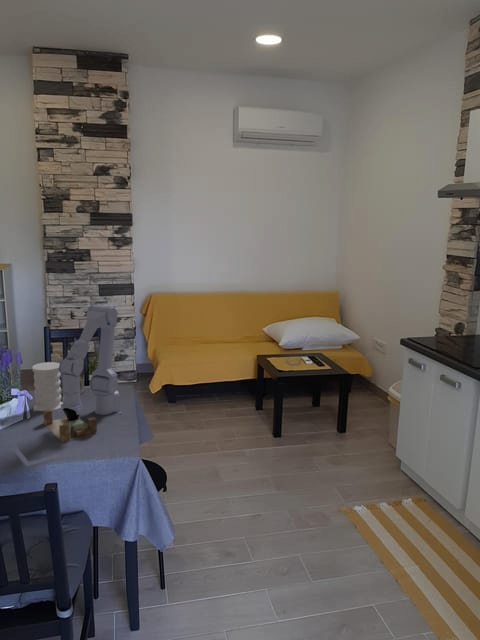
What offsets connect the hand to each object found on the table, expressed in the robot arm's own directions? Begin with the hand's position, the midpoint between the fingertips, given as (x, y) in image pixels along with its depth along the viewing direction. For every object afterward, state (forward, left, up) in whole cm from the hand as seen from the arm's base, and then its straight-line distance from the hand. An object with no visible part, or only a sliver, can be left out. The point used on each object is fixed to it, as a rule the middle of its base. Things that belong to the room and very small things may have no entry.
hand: (73, 426), depth 180 cm
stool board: (0, -2, -2) cm, 3 cm away
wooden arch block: (-2, +7, -1) cm, 7 cm away
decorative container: (-1, -28, -2) cm, 28 cm away
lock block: (0, +3, -1) cm, 4 cm away
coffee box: (-15, -38, -2) cm, 41 cm away
